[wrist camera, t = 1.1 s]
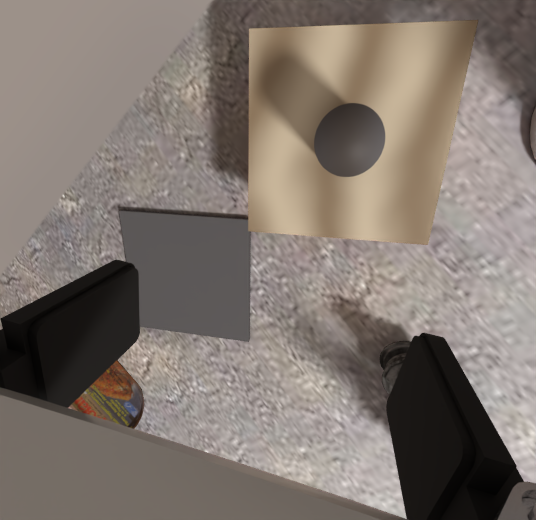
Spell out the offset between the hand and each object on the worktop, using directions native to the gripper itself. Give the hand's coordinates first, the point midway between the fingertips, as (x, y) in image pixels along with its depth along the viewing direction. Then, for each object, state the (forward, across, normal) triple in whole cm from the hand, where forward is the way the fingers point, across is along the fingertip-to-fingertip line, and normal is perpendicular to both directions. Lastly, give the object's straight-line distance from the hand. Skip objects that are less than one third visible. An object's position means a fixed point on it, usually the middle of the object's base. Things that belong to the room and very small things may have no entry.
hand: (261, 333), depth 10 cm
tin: (+23, +24, +30) cm, 45 cm away
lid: (+18, -2, -6) cm, 19 cm away
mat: (+23, +13, +12) cm, 29 cm away
